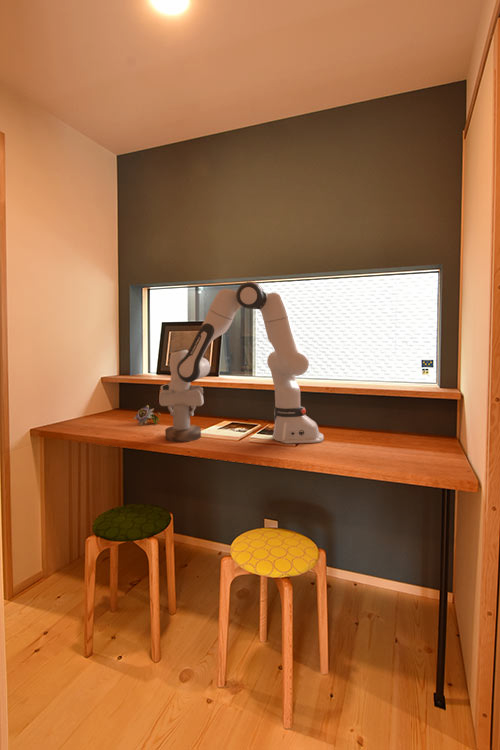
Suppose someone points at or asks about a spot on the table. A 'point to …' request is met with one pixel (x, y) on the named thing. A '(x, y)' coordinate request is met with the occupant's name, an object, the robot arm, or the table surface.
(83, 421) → the table surface
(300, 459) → the table surface
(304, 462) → the table surface
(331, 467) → the table surface
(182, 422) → the can
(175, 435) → the plinth
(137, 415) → the passion flower
